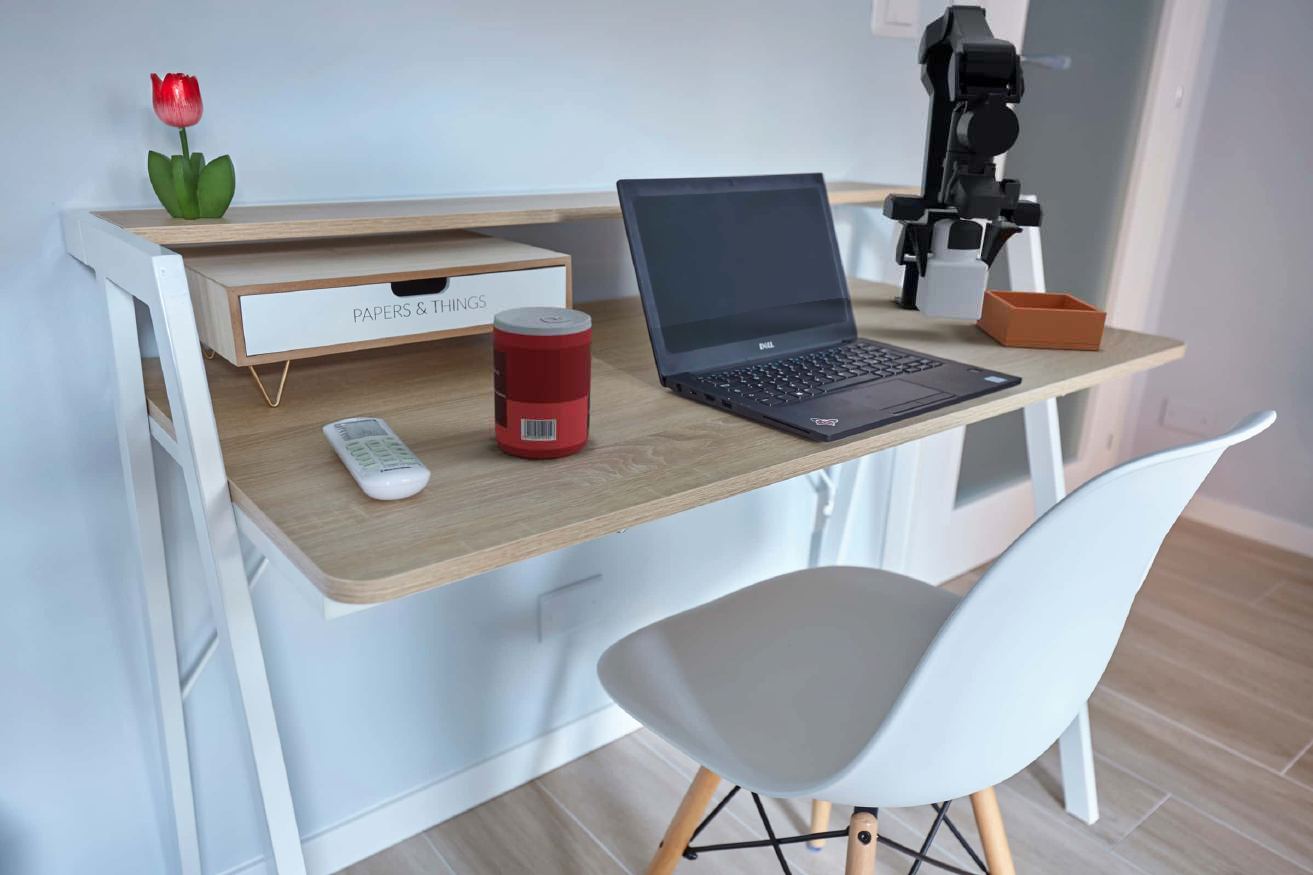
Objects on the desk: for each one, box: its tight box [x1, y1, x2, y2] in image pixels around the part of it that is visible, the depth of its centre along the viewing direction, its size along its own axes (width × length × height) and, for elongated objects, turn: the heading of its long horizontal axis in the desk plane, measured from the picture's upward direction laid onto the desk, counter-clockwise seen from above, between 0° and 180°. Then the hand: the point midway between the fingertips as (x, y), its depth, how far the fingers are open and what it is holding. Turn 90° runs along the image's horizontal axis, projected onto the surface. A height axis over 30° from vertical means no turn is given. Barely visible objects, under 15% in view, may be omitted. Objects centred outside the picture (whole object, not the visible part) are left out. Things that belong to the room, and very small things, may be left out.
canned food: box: [492, 306, 593, 460], centre depth 77 cm, size 8×8×11 cm
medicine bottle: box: [916, 218, 989, 321], centre depth 120 cm, size 7×7×12 cm
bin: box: [975, 289, 1108, 352], centre depth 124 cm, size 12×12×5 cm
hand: (951, 278), depth 120 cm, fingers closed on medicine bottle, 7 cm apart
